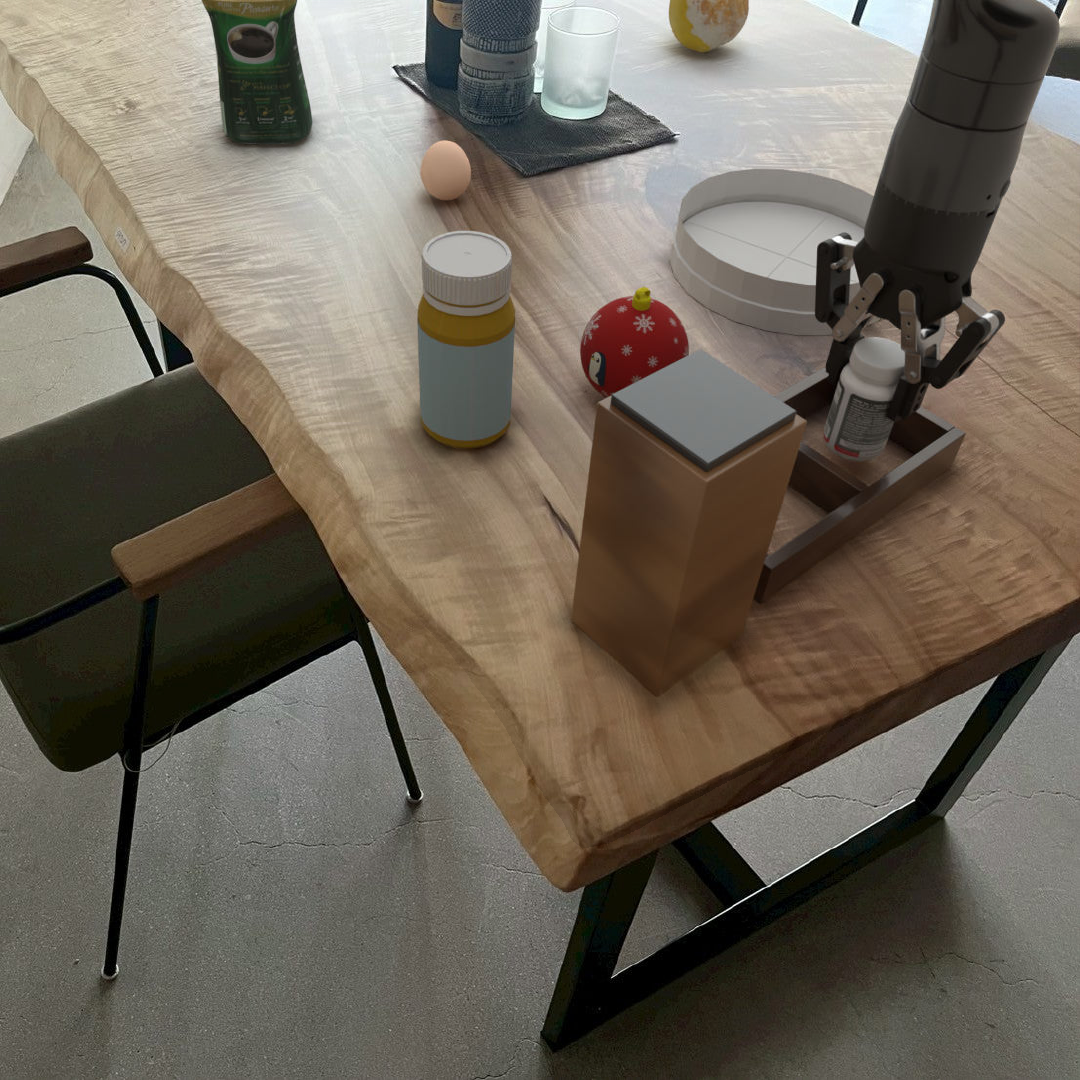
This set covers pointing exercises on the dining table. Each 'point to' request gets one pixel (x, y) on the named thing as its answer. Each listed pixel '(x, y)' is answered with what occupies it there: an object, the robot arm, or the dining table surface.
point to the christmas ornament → (630, 342)
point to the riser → (673, 545)
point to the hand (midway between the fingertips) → (868, 397)
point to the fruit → (707, 22)
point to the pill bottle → (864, 400)
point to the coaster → (703, 409)
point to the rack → (851, 484)
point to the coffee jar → (259, 71)
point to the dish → (764, 244)
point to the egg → (445, 170)
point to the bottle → (466, 339)
